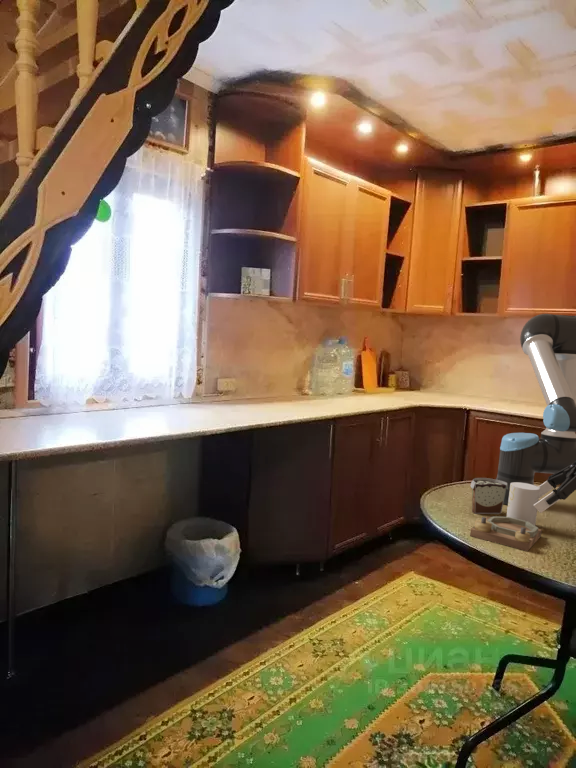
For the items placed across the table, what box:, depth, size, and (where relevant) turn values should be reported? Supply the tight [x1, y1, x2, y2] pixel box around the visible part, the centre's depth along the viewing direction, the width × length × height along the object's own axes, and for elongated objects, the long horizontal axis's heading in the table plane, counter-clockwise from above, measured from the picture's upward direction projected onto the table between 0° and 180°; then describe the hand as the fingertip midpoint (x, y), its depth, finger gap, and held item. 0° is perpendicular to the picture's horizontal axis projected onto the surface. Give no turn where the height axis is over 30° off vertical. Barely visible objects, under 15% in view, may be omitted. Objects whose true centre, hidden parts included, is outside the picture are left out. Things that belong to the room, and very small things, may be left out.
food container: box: [469, 477, 508, 515], centre depth 185 cm, size 12×6×10 cm, turn 104°
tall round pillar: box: [506, 482, 540, 526], centre depth 173 cm, size 8×8×12 cm
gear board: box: [469, 516, 542, 552], centre depth 162 cm, size 16×15×5 cm
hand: (534, 502), depth 170 cm, fingers open, 13 cm apart
